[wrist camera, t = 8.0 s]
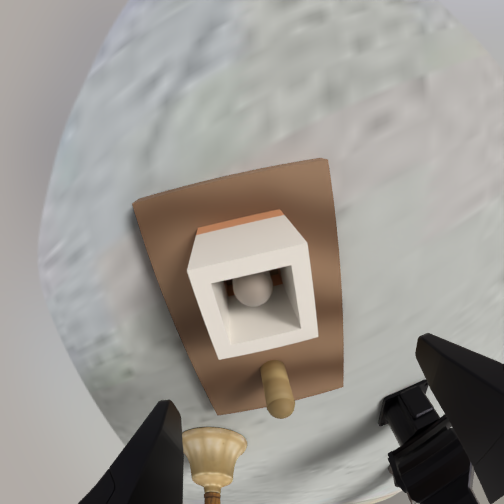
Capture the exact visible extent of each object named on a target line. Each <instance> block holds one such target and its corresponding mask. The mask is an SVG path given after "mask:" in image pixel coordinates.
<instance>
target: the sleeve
mask: <svg viewBox="0 0 504 504" xmlns="http://www.w3.org/2000/svg"><path fill="white" fill-rule="evenodd" d="M277 268H278V273H279V274H276V275H272V276H271V279H272V282H273V291H272V293H271V296H270V298H269V299H268V300H267V301H266V302H265V303H264V304H262V305H260V306H256V307H250V306H246V305H244V304H243V303H241V302H240V301H239V300H238V299H237V298H236V296H235V294H234V291H233V285H228V286H227V283H226V280H229V279H233V278H238V277H242V276H246V275H251V274H255V273H259V272H264V271H268V270H272V269H277ZM187 273H188V276H189V279H190V282H191V285H192V288H193V291H194V293H195V296H196V299H197V302H198V305H199V308H200V311H201V314H202V316H203V319H204V322H205V325H206V327H207V330H208V333H209V335H210V338H211V341H212V343H213V346H214V349H215V351H216V354H217V356H218V359H219V360H221V359H226V358H231V357H236V356H241V355H246V354H251V353H255V352H260V351H264V350H269V349H273V348H277V347H282V346H286V345H290V344H294V343H298V342H301V341H305V340H309V339H313V338H316V337H318V327H317V317H316V307H315V298H314V290H313V281H312V273H311V266H310V258H309V251H308V244H307V242H306V241H305V239H304V238H303V237H302V236H301V234H300V233H299V232H298V231H297V229H296V228H295V227H294V226H293V225H292V223H291V222H290V221H289V220H288V219H287V217H286V216H285V215H284V214H283V212H282V211H281V210H280V209H278V210H273V211H269V212H264V213H260V214H255V215H251V216H246V217H242V218H238V219H233V220H229V221H225V222H221V223H216V224H212V225H208V226H204V227H200V228H198V230H197V233H196V237H195V241H194V245H193V248H192V252H191V256H190V260H189V264H188V268H187Z"/></svg>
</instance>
